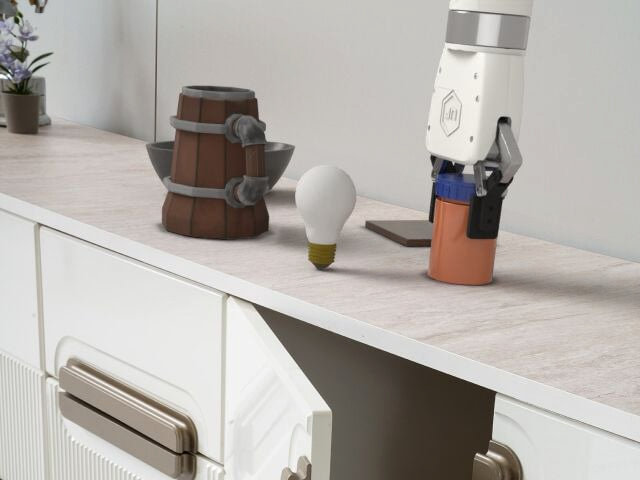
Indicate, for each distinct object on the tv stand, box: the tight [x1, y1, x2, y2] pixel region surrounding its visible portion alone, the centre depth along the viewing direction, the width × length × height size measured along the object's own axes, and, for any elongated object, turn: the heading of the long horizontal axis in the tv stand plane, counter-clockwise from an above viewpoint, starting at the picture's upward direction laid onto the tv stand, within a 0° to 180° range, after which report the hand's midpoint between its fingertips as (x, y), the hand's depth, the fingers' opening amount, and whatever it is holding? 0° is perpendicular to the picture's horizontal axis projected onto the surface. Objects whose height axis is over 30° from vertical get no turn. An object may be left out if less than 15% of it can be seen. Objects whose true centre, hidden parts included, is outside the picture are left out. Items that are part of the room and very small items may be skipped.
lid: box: [435, 172, 506, 202], centre depth 109 cm, size 7×7×2 cm
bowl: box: [145, 139, 296, 196], centre depth 148 cm, size 12×22×6 cm, turn 130°
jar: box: [427, 196, 499, 286], centre depth 110 cm, size 6×6×9 cm
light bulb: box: [294, 164, 357, 270], centre depth 109 cm, size 6×6×10 cm
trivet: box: [364, 219, 433, 247], centre depth 131 cm, size 11×11×1 cm
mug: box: [161, 84, 270, 240], centre depth 122 cm, size 16×12×15 cm
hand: (462, 229), depth 110 cm, fingers open, 6 cm apart
